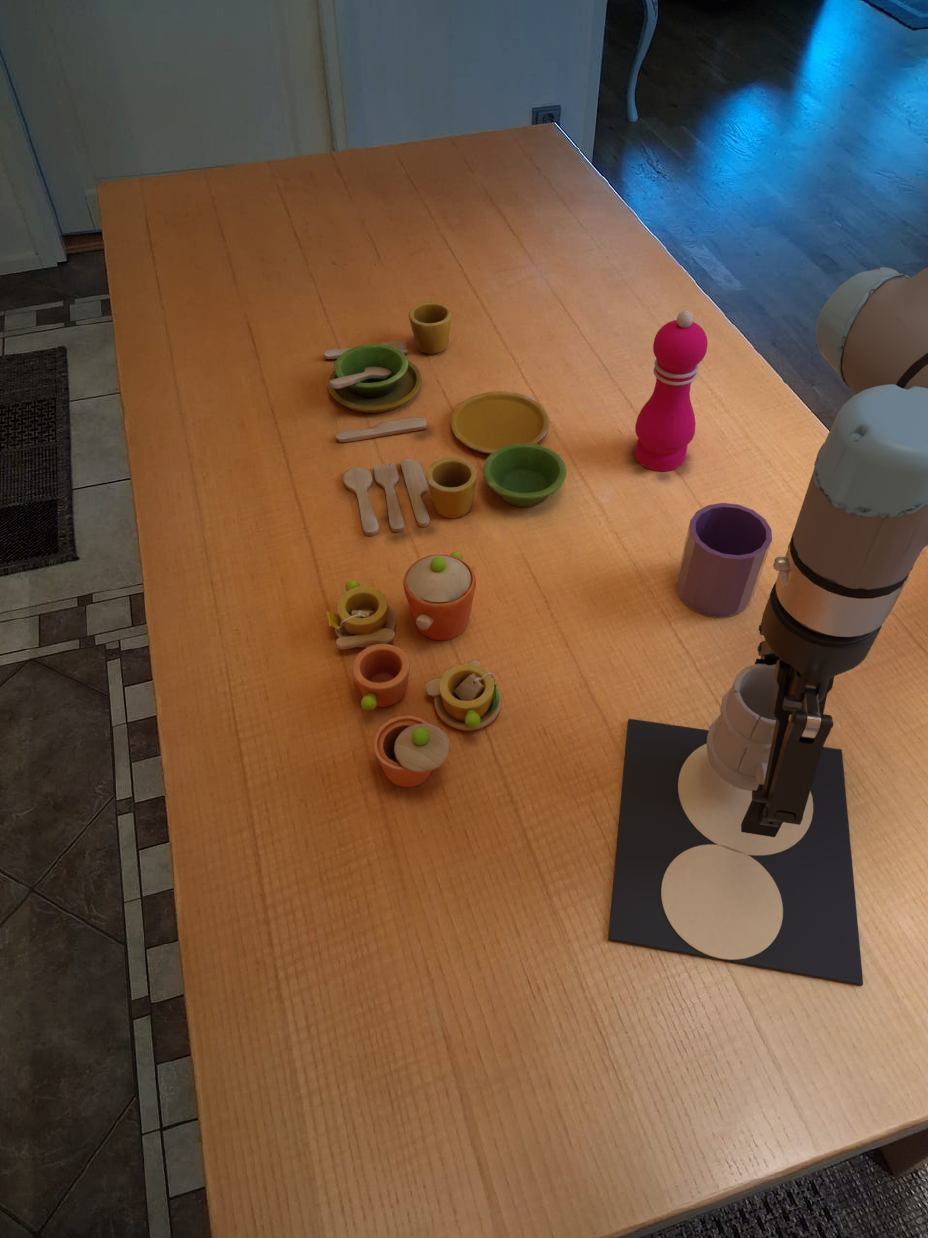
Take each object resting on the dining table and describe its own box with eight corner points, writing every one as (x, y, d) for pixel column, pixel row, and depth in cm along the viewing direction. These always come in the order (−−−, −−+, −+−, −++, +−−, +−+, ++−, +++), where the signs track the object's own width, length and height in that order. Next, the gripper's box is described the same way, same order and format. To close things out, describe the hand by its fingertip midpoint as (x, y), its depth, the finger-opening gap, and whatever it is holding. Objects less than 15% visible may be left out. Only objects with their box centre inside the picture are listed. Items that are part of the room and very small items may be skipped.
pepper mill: (648, 430, 117) (671, 288, 101) (698, 450, 114) (731, 307, 99) (620, 460, 113) (641, 316, 98) (672, 481, 110) (701, 337, 95)
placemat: (840, 751, 85) (842, 748, 84) (861, 986, 71) (863, 984, 70) (628, 720, 88) (628, 717, 87) (608, 940, 74) (608, 938, 73)
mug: (780, 720, 83) (815, 639, 74) (811, 838, 75) (855, 763, 66) (697, 721, 83) (722, 639, 74) (719, 838, 75) (751, 763, 66)
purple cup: (751, 567, 100) (770, 507, 94) (752, 622, 95) (773, 563, 88) (677, 558, 102) (691, 499, 95) (674, 612, 96) (688, 553, 90)
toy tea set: (324, 606, 98) (310, 543, 91) (460, 576, 101) (458, 512, 93) (373, 812, 82) (362, 756, 74) (535, 770, 84) (539, 712, 77)
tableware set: (319, 351, 130) (312, 312, 125) (504, 326, 134) (505, 286, 129) (356, 547, 104) (349, 506, 99) (586, 509, 107) (590, 468, 102)
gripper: (768, 479, 69) (714, 652, 86) (778, 738, 54) (710, 888, 71) (869, 490, 68) (795, 663, 85) (908, 757, 53) (808, 905, 70)
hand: (756, 766), depth 78 cm, fingers closed on mug, 12 cm apart
